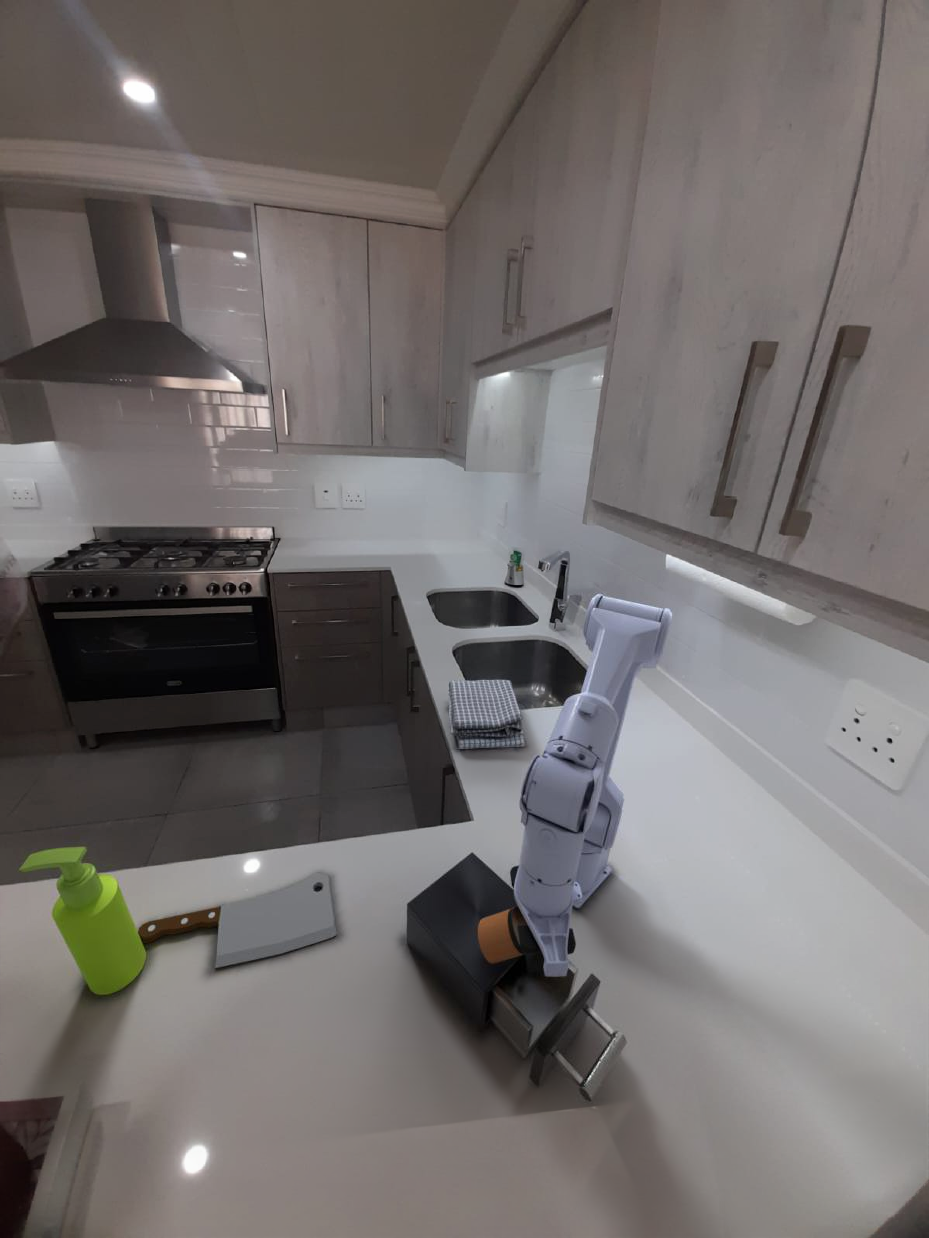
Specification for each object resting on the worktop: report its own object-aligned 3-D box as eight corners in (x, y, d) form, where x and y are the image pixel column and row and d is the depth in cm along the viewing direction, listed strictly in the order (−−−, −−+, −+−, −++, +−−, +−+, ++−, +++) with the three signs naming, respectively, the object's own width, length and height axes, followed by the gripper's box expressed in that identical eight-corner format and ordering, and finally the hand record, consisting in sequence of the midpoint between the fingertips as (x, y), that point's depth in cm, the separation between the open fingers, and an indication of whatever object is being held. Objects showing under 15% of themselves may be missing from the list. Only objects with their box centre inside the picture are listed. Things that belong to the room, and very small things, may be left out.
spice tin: (474, 916, 54) (508, 904, 53) (494, 918, 58) (526, 907, 56) (482, 964, 52) (518, 953, 50) (503, 964, 55) (537, 953, 53)
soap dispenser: (94, 947, 61) (39, 835, 53) (153, 939, 62) (110, 828, 54) (68, 1000, 56) (3, 885, 47) (133, 990, 57) (82, 876, 49)
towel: (508, 700, 117) (511, 672, 114) (525, 750, 101) (529, 719, 97) (445, 701, 115) (447, 673, 112) (452, 752, 99) (454, 721, 96)
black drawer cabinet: (542, 960, 63) (549, 922, 60) (479, 1032, 55) (484, 992, 52) (469, 888, 72) (472, 851, 68) (406, 941, 64) (406, 903, 61)
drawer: (628, 1046, 54) (639, 1016, 52) (575, 1133, 47) (585, 1104, 45) (512, 931, 65) (516, 902, 63) (455, 989, 58) (458, 959, 56)
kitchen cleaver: (121, 990, 56) (144, 907, 65) (123, 994, 57) (146, 912, 65) (337, 937, 64) (332, 869, 72) (337, 941, 64) (333, 873, 72)
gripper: (610, 932, 42) (585, 1021, 48) (570, 805, 56) (555, 887, 61) (530, 932, 42) (515, 1022, 48) (509, 805, 55) (499, 886, 61)
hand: (533, 946), depth 54 cm, fingers closed on spice tin, 4 cm apart
